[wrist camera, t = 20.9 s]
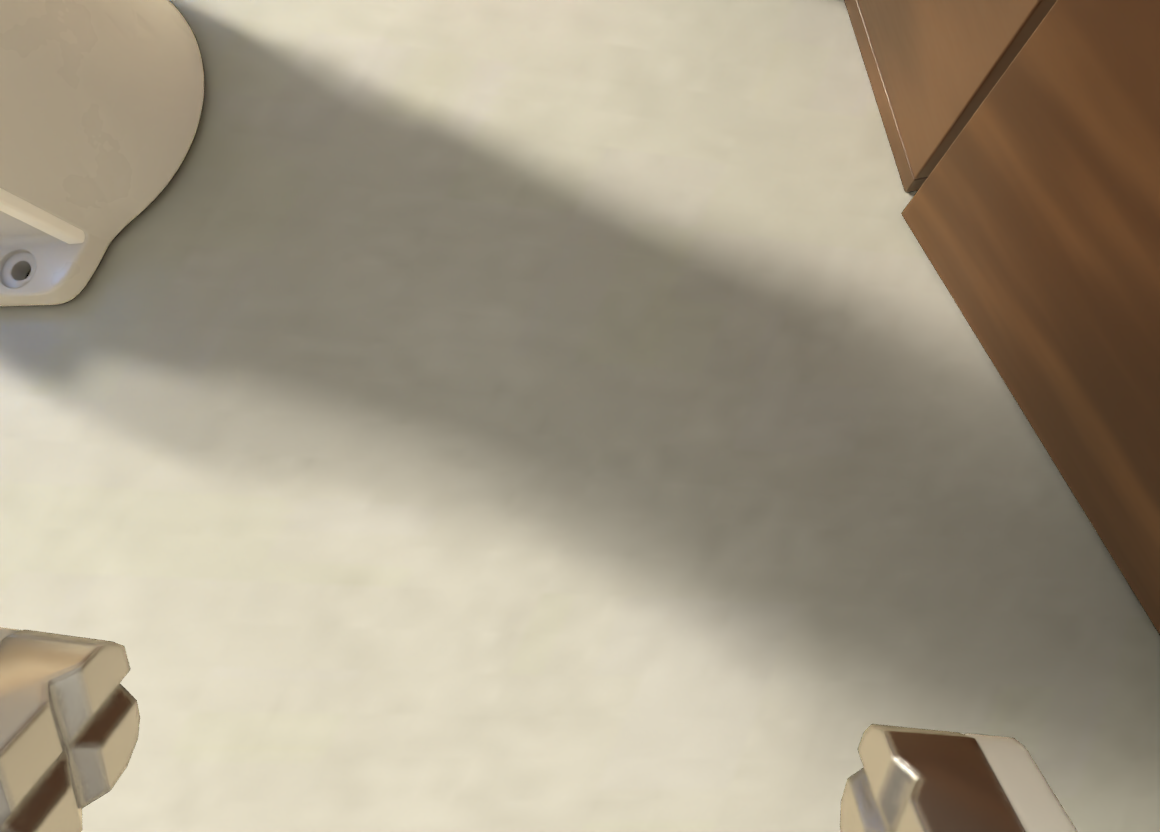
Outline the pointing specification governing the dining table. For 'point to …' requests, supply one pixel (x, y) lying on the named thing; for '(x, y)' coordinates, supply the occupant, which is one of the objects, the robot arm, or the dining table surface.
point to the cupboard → (936, 67)
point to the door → (1069, 258)
